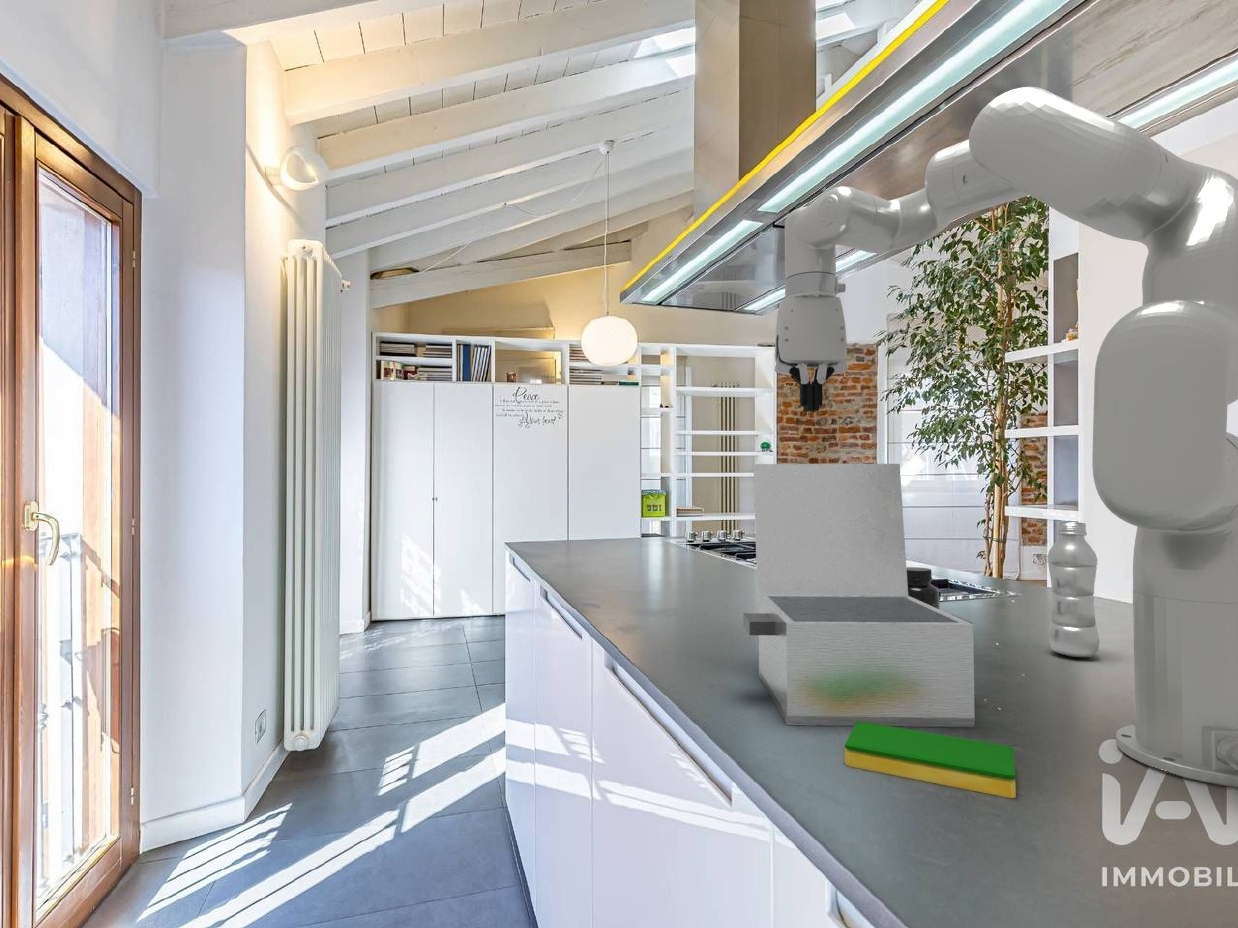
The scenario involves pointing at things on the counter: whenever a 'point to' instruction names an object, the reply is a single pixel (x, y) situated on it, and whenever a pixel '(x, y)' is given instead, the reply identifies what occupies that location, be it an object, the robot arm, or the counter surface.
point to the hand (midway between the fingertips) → (811, 411)
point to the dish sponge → (933, 758)
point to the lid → (829, 529)
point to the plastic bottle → (1073, 593)
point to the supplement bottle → (922, 586)
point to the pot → (864, 660)
